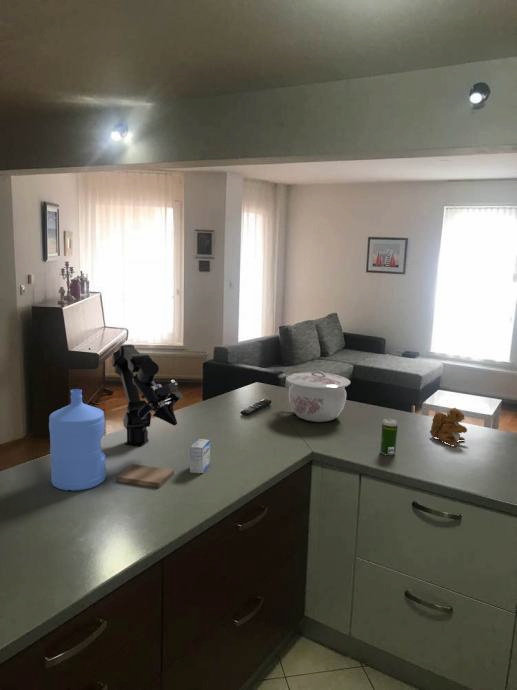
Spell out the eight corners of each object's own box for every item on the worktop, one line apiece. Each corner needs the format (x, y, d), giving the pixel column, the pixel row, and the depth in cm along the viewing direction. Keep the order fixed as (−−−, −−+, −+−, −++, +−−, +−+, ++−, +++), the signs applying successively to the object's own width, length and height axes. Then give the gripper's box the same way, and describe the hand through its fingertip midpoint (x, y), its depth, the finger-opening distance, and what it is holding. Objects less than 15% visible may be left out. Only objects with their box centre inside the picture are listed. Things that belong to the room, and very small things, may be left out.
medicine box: (202, 474, 165) (203, 448, 164) (189, 472, 166) (189, 446, 165) (210, 464, 173) (210, 439, 171) (197, 463, 174) (197, 438, 172)
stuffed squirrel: (456, 448, 194) (459, 414, 191) (422, 438, 204) (425, 405, 202) (469, 442, 200) (473, 409, 198) (436, 432, 211) (438, 401, 208)
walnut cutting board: (117, 481, 158) (117, 476, 158) (133, 468, 168) (133, 464, 168) (159, 487, 155) (159, 483, 155) (173, 474, 164) (173, 470, 164)
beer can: (398, 455, 185) (401, 422, 183) (385, 457, 184) (387, 424, 182) (389, 449, 190) (392, 418, 188) (377, 451, 189) (379, 419, 186)
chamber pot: (353, 428, 212) (356, 379, 209) (285, 426, 213) (287, 377, 209) (343, 408, 240) (345, 364, 236) (283, 406, 240) (284, 362, 237)
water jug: (75, 497, 148) (72, 401, 143) (40, 483, 156) (35, 391, 151) (117, 477, 161) (115, 389, 156) (82, 465, 169) (80, 381, 164)
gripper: (144, 379, 165) (174, 418, 163) (178, 368, 182) (205, 403, 179) (125, 399, 170) (153, 438, 167) (159, 387, 187) (185, 422, 184)
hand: (175, 424), depth 174 cm, fingers closed
